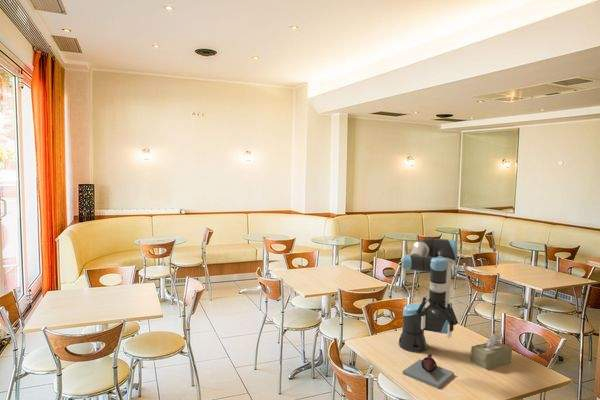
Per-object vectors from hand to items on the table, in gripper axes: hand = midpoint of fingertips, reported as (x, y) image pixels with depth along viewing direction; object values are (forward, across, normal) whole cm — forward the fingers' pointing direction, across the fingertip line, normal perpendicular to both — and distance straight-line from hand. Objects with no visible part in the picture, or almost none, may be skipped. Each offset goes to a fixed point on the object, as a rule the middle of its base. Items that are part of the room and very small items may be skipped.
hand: (435, 332), depth 194 cm
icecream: (+18, -1, -4) cm, 19 cm away
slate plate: (+20, -1, -4) cm, 20 cm away
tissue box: (+21, +15, +32) cm, 41 cm away
